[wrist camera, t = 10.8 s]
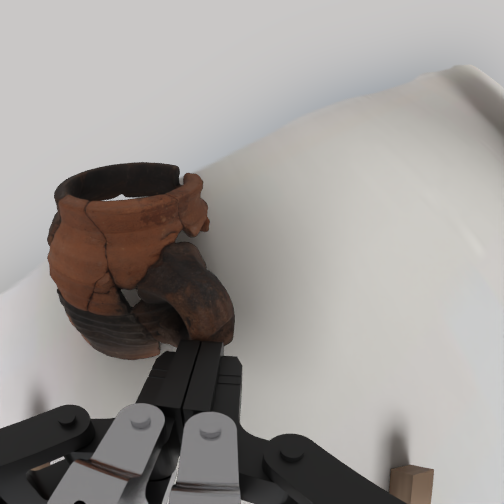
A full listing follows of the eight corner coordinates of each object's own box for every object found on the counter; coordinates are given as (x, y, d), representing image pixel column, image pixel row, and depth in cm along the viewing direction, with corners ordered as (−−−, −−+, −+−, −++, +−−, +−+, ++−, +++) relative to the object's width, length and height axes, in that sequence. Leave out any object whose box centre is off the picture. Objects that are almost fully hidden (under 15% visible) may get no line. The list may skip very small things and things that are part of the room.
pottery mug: (48, 308, 16) (16, 185, 12) (157, 256, 23) (153, 149, 19) (166, 448, 10) (126, 297, 6) (291, 335, 17) (321, 198, 13)
